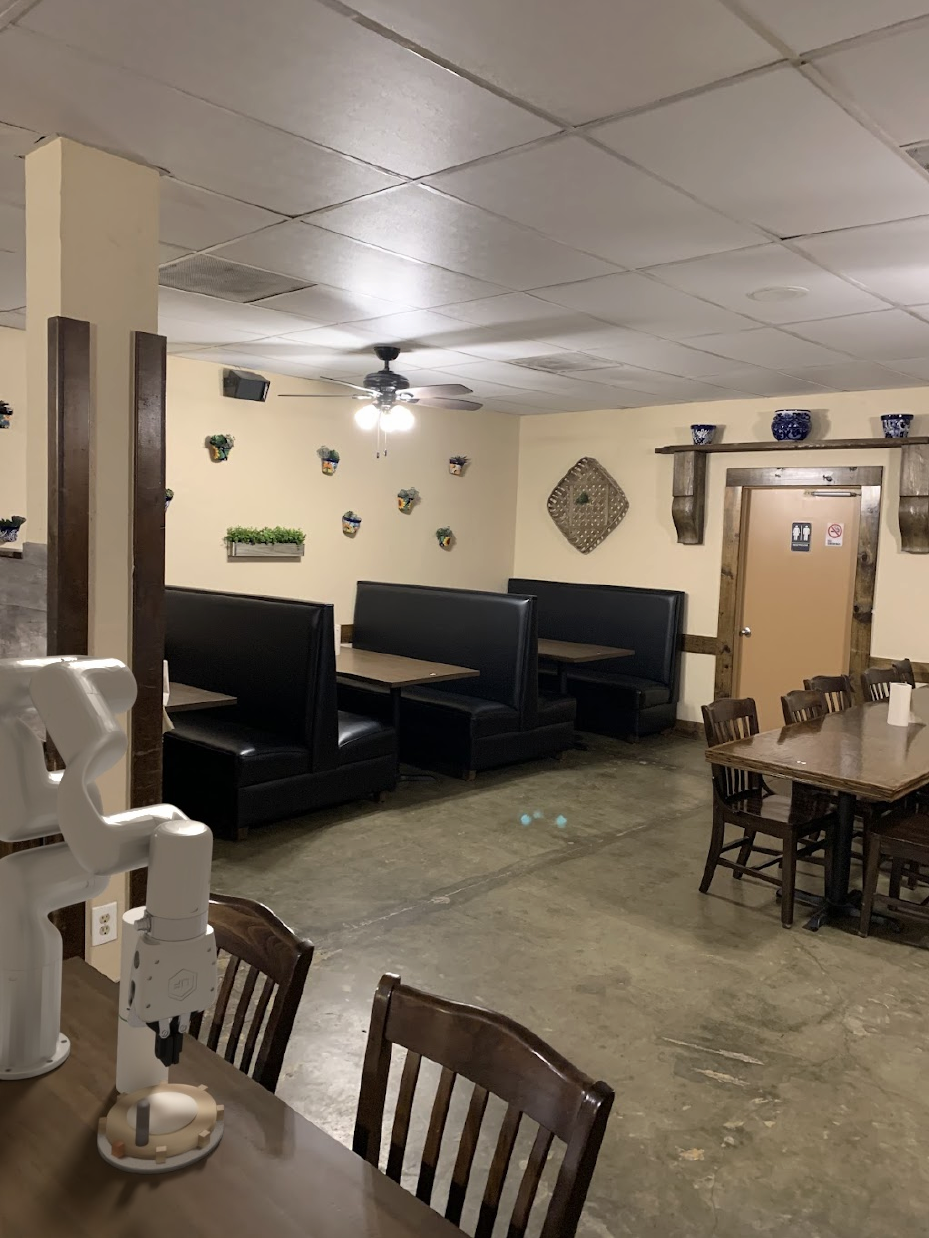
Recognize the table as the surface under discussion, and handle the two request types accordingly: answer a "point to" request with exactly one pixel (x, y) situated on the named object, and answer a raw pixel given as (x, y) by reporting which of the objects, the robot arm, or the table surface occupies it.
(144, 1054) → the cylindrical container
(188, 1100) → the dial
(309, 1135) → the table surface
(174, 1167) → the dial base
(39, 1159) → the table surface
